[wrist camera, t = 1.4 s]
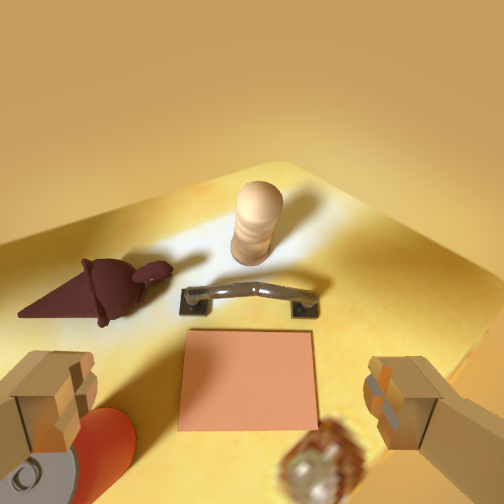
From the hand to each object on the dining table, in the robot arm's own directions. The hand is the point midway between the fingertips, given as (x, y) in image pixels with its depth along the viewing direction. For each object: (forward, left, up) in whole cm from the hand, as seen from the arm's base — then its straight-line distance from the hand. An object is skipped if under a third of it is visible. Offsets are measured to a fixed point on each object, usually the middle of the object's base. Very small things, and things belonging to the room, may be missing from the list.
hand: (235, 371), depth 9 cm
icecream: (-13, +9, -25) cm, 30 cm away
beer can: (-11, -6, -25) cm, 28 cm away
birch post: (+3, +16, -25) cm, 30 cm away
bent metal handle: (+3, +8, -25) cm, 26 cm away
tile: (+3, 0, -25) cm, 25 cm away
